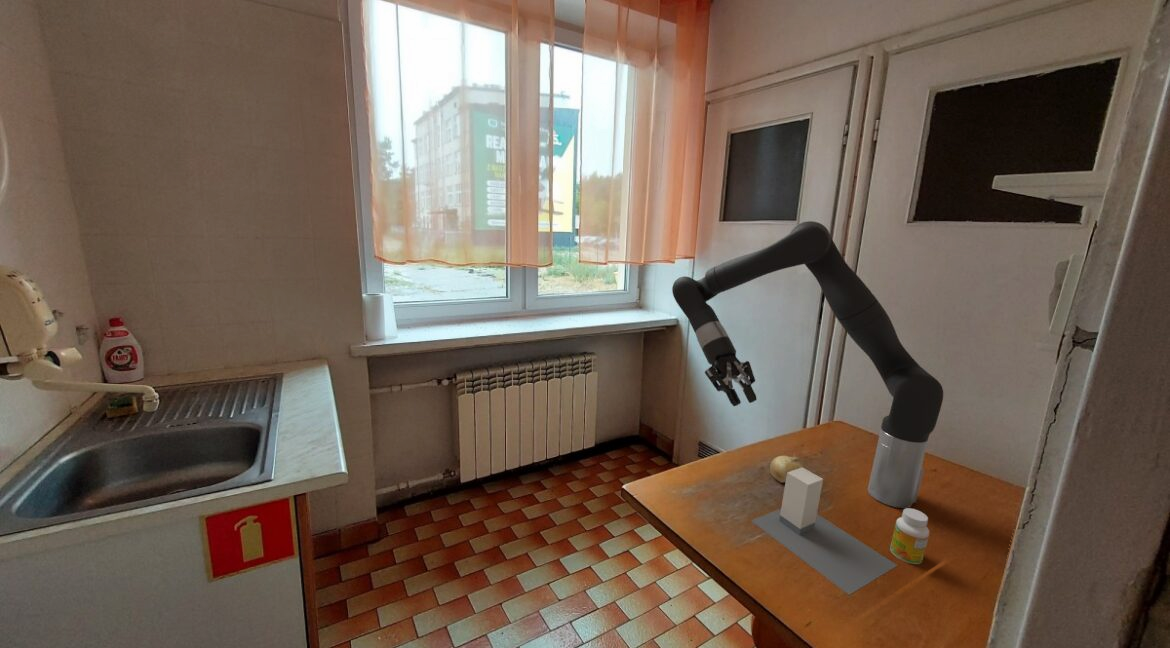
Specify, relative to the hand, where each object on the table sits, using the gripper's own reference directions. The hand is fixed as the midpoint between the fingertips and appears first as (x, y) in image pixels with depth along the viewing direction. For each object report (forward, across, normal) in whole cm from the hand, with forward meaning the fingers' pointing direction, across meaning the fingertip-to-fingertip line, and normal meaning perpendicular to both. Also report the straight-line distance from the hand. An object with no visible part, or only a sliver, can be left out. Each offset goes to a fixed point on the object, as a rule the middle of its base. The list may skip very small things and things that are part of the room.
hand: (745, 402), depth 106 cm
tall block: (+28, 0, +3) cm, 28 cm away
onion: (+19, +14, +13) cm, 27 cm away
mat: (+32, 0, -1) cm, 32 cm away
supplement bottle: (+39, +13, -8) cm, 42 cm away
